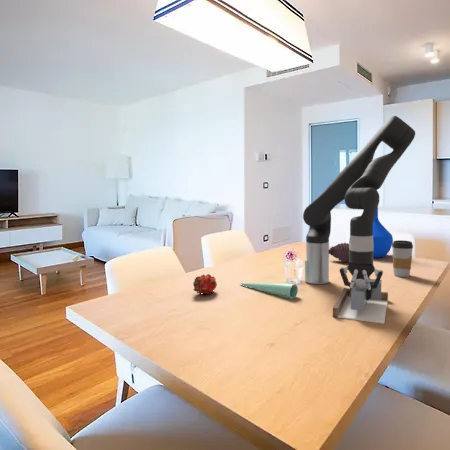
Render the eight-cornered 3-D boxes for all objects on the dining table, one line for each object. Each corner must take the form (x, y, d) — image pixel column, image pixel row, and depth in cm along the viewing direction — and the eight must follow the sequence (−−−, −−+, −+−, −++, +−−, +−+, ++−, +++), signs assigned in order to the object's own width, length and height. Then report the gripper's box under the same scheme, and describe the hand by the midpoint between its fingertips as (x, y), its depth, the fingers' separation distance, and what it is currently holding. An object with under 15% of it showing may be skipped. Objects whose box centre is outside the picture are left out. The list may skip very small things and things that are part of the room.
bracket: (356, 294, 129) (356, 277, 128) (381, 296, 125) (381, 279, 125) (350, 309, 115) (350, 290, 114) (378, 312, 111) (378, 293, 111)
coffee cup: (394, 272, 166) (394, 239, 164) (414, 274, 161) (415, 241, 159) (388, 276, 160) (389, 242, 158) (409, 278, 155) (410, 244, 153)
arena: (332, 316, 116) (332, 307, 115) (343, 295, 136) (343, 287, 135) (384, 323, 109) (384, 314, 109) (387, 300, 129) (387, 292, 129)
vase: (367, 251, 213) (368, 200, 210) (398, 255, 199) (400, 201, 195) (350, 256, 202) (350, 202, 198) (382, 261, 188) (383, 203, 184)
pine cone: (324, 261, 191) (324, 243, 190) (331, 258, 199) (332, 240, 197) (358, 265, 180) (358, 245, 179) (364, 262, 187) (365, 242, 186)
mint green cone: (244, 271, 155) (297, 282, 136) (244, 284, 156) (298, 297, 137) (235, 274, 151) (289, 285, 132) (236, 287, 152) (289, 300, 133)
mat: (337, 317, 115) (337, 316, 115) (347, 297, 134) (347, 296, 134) (384, 323, 109) (384, 322, 109) (387, 301, 128) (387, 300, 128)
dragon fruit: (192, 301, 139) (213, 297, 149) (206, 291, 135) (227, 288, 144) (184, 281, 143) (205, 279, 152) (198, 271, 138) (218, 269, 147)
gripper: (385, 247, 120) (384, 298, 122) (340, 245, 126) (340, 293, 128) (384, 251, 113) (383, 305, 115) (336, 249, 120) (336, 300, 122)
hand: (360, 298), depth 122 cm, fingers closed on bracket, 4 cm apart
